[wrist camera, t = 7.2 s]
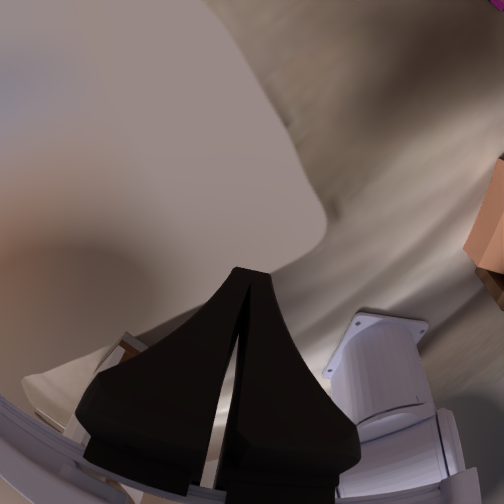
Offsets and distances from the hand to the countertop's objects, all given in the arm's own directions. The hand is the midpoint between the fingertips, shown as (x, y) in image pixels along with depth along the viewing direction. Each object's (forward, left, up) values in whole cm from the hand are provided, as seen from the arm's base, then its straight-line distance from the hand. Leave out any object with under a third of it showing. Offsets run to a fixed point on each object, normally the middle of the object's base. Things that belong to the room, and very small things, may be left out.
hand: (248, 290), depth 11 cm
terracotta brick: (+4, -20, -10) cm, 22 cm away
